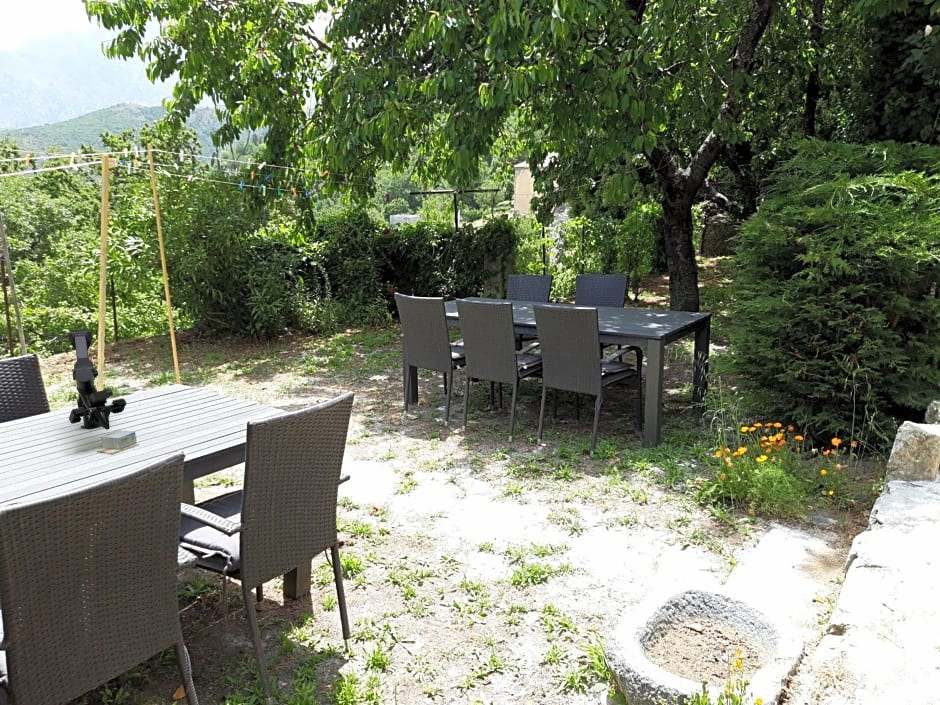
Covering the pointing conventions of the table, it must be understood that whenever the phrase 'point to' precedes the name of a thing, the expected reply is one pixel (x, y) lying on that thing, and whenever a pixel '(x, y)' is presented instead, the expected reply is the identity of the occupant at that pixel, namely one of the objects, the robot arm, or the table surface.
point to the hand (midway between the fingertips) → (108, 428)
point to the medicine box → (118, 439)
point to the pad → (113, 451)
